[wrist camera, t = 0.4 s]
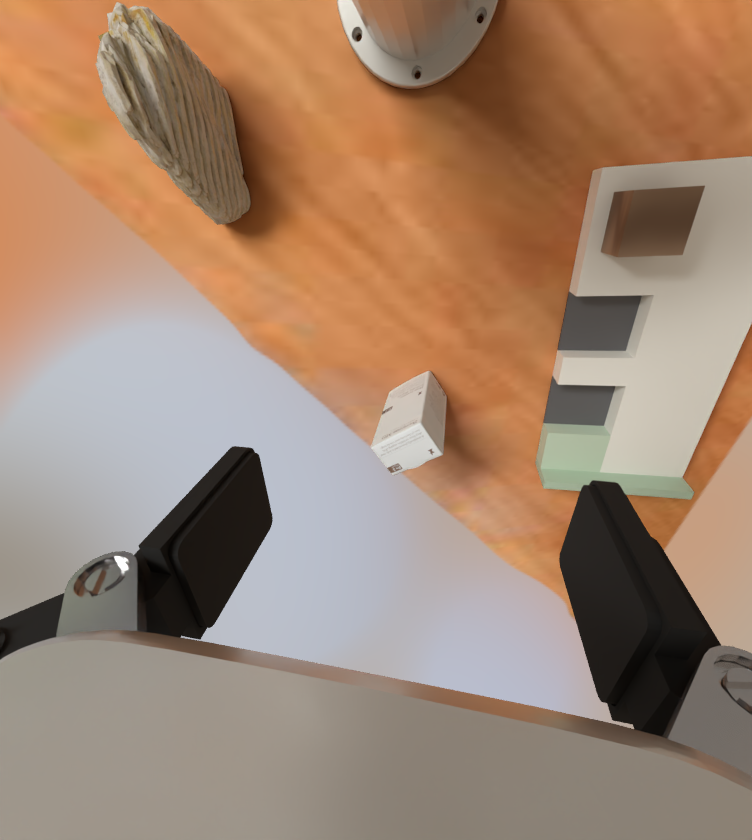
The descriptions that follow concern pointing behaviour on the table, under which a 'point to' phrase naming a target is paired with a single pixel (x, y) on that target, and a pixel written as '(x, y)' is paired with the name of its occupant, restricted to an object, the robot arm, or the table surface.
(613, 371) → the board
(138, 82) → the fossil tooth
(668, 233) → the walnut block
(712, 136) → the table surface
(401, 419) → the skincare box
